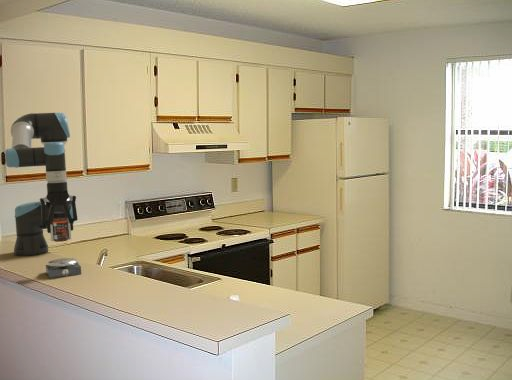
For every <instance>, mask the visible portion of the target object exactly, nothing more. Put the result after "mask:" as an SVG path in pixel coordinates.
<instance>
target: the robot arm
mask: <svg viewBox="0 0 512 380" xmlns="http://www.w3.org/2000/svg"><path fill="white" fill-rule="evenodd" d="M10 134H11V135H10V136H11V137H12V142H11V148H7V149H5V152H4V154H5V155H4V158H5V165H6V167H7V168H16V169H17V168H27V167H44V166H45V178H46V179H45V180H46V182H47V184H46V191H47V193H46V196H44V197H41V198H39V201H32V202H31V201H30V202H26V203H23V204H19V205H17V206H16V207H15V208H14V219H15V231H16V240H15V243H14V247H13V254H14V256H20V257H22V256H24V257H25V256H35V255H41V254H44V253H48V251H49V245H48V242H47V241H46V238H45V236H44V230H46V231H47V234H49V235H50V241H51V242H55V241H54V238H53V225H52V219H53V218H54V213H55V212H65V217H66V218H67V219H68V232H69V240H72V231H74V223H75V222H76V221H78V212H77V207H76V201H77V200H76V199H77V196H76V195H70V194H69V192H68V191H69V190H68V181H67V180H68V178H67V167H66V166H67V165H66V153H65V152H66V150H65V149H66V148H65V145H66V144H67V143H68V139H69V138H70V137H71V134H70V127H69V124H68V118H67V115H66V114H65V113H63V112H42V113H41V112H37V113H34V112H31V113H27V114H23V115H22V116H20V117H18V118H16V119H15V121H13V123H12V124H11V127H10ZM33 139H34V140H35V139H36V140H37V139H39V140H40V142H41V144H42V146H43V147H42V146H41V147H40V146H39V147H32V140H33ZM69 240H68V241H69Z"/></svg>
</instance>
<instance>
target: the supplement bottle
mask: <svg viewBox="0 0 512 380" xmlns="http://www.w3.org/2000/svg"><path fill="white" fill-rule="evenodd" d="M52 225H53V238H54V241H53V242H57V243H59V242H62V243H63V242H67V241H69V232H68V219H67V218H66V217H65V212H55V213H54V218H53V219H52Z"/></svg>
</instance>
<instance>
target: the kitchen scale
mask: <svg viewBox="0 0 512 380" xmlns="http://www.w3.org/2000/svg"><path fill="white" fill-rule="evenodd" d="M45 272H46V274H47V277H48V279H55V278H62V277H69V275H71V276H78V275H82V266H81V265H80V264H79V262H78V259H77V258H74V257H72V258H70V257H65V258H57V259H54V260H50V261H48V262H47V264H45Z"/></svg>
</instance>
